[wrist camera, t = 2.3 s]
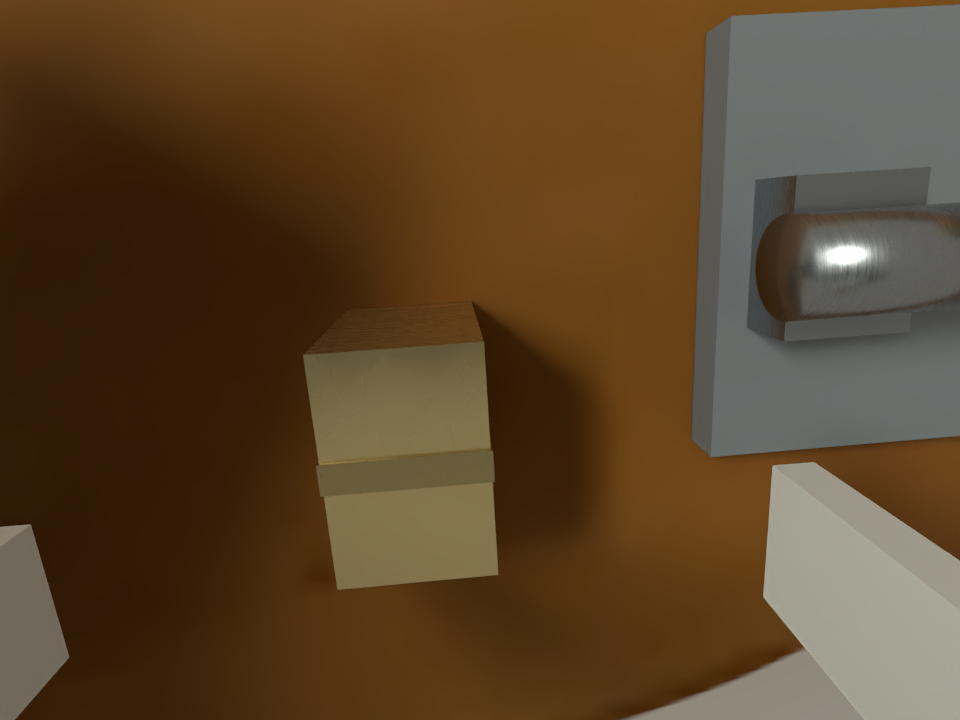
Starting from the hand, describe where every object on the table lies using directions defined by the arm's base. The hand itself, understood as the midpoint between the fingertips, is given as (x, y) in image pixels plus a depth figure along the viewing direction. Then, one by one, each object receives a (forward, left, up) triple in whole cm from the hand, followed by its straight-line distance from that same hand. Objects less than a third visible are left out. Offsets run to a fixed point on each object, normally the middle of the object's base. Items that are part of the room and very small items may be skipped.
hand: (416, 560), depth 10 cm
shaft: (+12, +4, -8) cm, 15 cm away
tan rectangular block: (0, 0, -9) cm, 9 cm away
